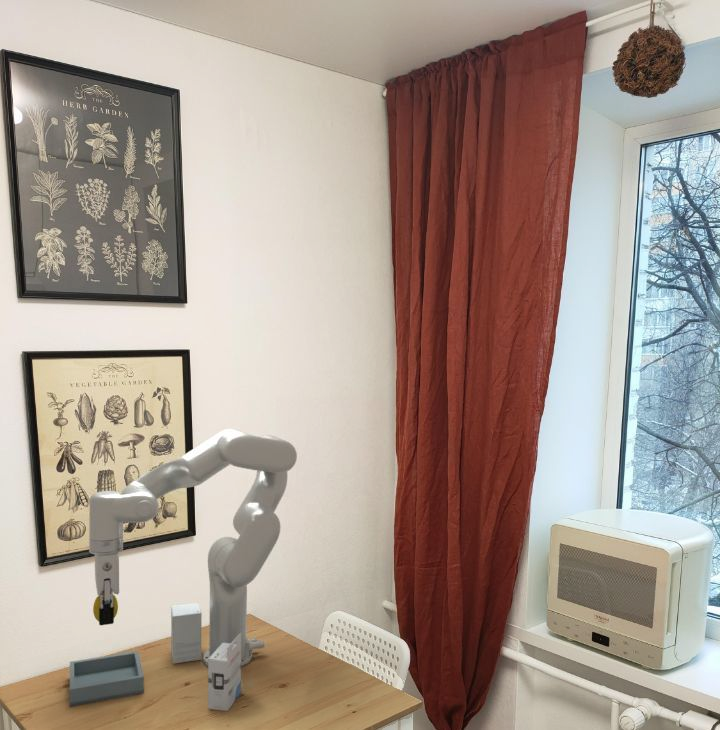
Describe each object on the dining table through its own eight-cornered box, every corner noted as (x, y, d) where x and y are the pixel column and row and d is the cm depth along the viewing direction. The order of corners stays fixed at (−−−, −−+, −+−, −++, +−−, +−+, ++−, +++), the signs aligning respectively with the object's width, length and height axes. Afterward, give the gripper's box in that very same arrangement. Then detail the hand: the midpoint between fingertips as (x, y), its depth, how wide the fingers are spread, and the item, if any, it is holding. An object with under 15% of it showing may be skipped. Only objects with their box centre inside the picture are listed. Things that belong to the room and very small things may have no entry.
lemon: (94, 631, 158) (94, 597, 158) (91, 621, 163) (92, 589, 163) (119, 626, 161) (119, 593, 160) (116, 617, 165) (116, 585, 165)
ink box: (222, 690, 161) (222, 629, 161) (241, 692, 160) (242, 631, 160) (207, 709, 153) (207, 645, 152) (227, 712, 152) (228, 647, 151)
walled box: (138, 666, 172) (138, 650, 172) (143, 693, 159) (143, 676, 159) (69, 677, 166) (69, 661, 165) (69, 706, 153) (69, 689, 153)
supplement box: (198, 647, 183) (199, 601, 182) (201, 660, 176) (202, 612, 175) (170, 651, 180) (170, 604, 180) (172, 664, 173) (172, 615, 173)
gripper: (125, 553, 155) (125, 631, 155) (120, 532, 170) (120, 603, 171) (90, 556, 152) (89, 636, 152) (88, 535, 167) (88, 607, 168)
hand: (105, 618), depth 162 cm, fingers closed on lemon, 5 cm apart
